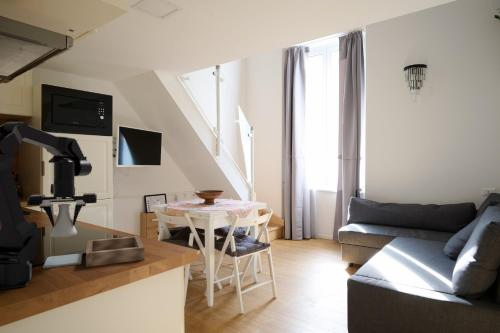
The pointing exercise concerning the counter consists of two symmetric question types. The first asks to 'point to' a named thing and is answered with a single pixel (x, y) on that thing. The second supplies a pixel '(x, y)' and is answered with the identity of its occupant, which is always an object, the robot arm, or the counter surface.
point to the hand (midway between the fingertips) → (63, 226)
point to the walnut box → (114, 250)
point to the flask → (63, 223)
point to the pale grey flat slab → (63, 260)
